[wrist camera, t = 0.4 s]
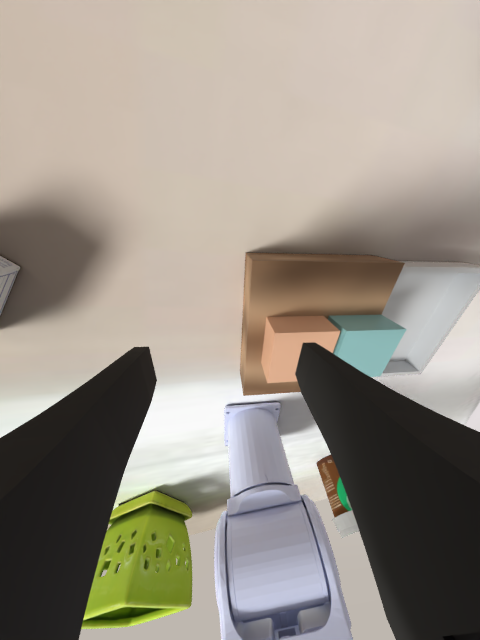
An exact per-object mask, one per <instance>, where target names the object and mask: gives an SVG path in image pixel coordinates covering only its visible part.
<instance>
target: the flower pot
mask: <svg viewBox="0 0 480 640" xmlns="http://www.w3.org/2000/svg"><path fill="white" fill-rule="evenodd" d="M191 517H192V512H191V510H190V508H189V507H188V506H187V505H186V504H185V503H184V502H181V501H179V500H176V499H174V498H172V497H169V496H167V495H165V494H162V493H160V492H158V491H157V490H154V491H152V492H150V493H148V494H145V495H143V496H141V497H138V498H136V499H134V500H131V501H129V502H127V503H125V504H119V506H118V507H117V508H115V509H114V510H113V511H112V514H111V517H110V521H109V524H111V526H110V528H109V529H108V530H107V531H106V535H105V538H104V542H103V545H102V549H101V553H100V557H99V560H98V564H97V568H96V572H95V575H94V579H93V583H92V587H91V591H90V594H89V599H88V603H87V607H86V611H85V615H84V619H83V623H82V627H81V629H90V628H91V629H93V628H94V629H95V628H117V627H128V626H133V625H136V624H141V623H144V622H147V621H151V620H154V619H158V618H161V617H163V616H167V615H170V614H173V613H176V612H179V611H182V610H185V609H188V608H189V607H190V606H191V602H192V560H191V550H190V542H189V537H188V532H187V528H186V525H185V522H184V521H185V520H187V519H190V518H191ZM183 548H184V550H183ZM176 558H177V559H178V562H177V565H176ZM185 561H186V565H185ZM120 564H121V566H120V569H119V571H118V567H119V565H120ZM103 570H107V573H106V575H105V576H103V577H101V575H102V572H103ZM117 571H118V573H117ZM155 571H156V572H157V573H156V572H155Z"/></svg>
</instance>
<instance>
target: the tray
mask: <svg viewBox="0 0 480 640" xmlns="http://www.w3.org/2000/svg"><path fill="white" fill-rule="evenodd" d="M399 262H403V263H405V264H404V266H403V269H402V271H401V273H400V275H399V277H398V279H397V282H396V284H395V286H394V288H393V290H392V293H391V295H390V297H389V299H388V301H387V303H386V306H385V308H384V310H383V312H382V314H381V315H383V316H385V317H386V318H388V319H390V320H392V321H393V322H395V323H397V324H398V325H400V326H402V327H404V328H405V329H407V330H406V331H405V333H404V335H403V337H402V339H401V340H400V342H399V344H398V346H397V348H396V349H395V351H394V353H393V355H392V357H391V358H390V360H389V362H388V364H387V366H386V367H385V369H384V371H383V373H382V375H381V376H397V375H413V374H421V373H422V372H423V370H424V369H425V367H426V366H427V365H428V363H429V362H430V360H431V359H432V357H433V356H434V354H435V353H436V352H437V350H438V349H439V347H440V346H441V344H442V343H443V342H444V340H445V339H446V337H447V336H448V334H449V333H450V331H451V330H452V329H453V327H454V326H455V324H456V323H457V321H458V320H459V319H460V317H461V316H462V314H463V313H464V311H465V310H466V309H467V307H468V306H469V304H470V303H471V301H472V300H473V298H474V297H475V296H476V294H477V293H478V291H479V290H480V265H476V264H470V263H464V262H422V261H399ZM381 376H377V377H381Z"/></svg>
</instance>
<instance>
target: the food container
mask: <svg viewBox="0 0 480 640" xmlns="http://www.w3.org/2000/svg"><path fill="white" fill-rule="evenodd" d="M317 466H318V469H319V472H320V475H321V478H322V481H323V484H324V487H325V490H326V493H327V496H328V499H329V502H330V505H331V508H332V511H333V514H334V517H335V518H333V519H332V520H333V522H334V524H335V526H336V528H337V530H338V532H340V534H341V537H342V538H343V537H345V536H348V535H350V534H352V533H355V532H358V531H359V528H358V525H357V522H356V519H355V517H354V514H353V511H352V508H351V505H350V502H349V500H348V497H347V494H346V492H345V489H344V486H343V483H342V481H341V478H340V475H339V473H338V470H337V468H336V465H335V463H334V460H333V458H332V455H329V456H327V457H325V458H323V459H321V460H320V461H318V462H317Z"/></svg>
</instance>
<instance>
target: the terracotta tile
mask: <svg viewBox="0 0 480 640" xmlns="http://www.w3.org/2000/svg"><path fill="white" fill-rule="evenodd" d="M339 334H340V330H339V329H337V328H336V327H335V326H334V325H333V324H332V323H331V322H330V321H329V320H328V319H326V318H325V317H324V316H285V317H267V318H266V326H265V335H264V343H263V351H262V360H261V364H262V367H263V371H264V374H265V377H266V381H267V383H279V382H296V381H297V378H296V375H295V372H296V368H297V364H298V360H299V356H300V352H301V348H302V344H303V343H311V342H315V343H317V344H319V345H320V346H322V347H324V348H325V349H327V350H328V351H330V352H331V353H333V351H334V348H335V345H336V343H337V340H338V337H339Z"/></svg>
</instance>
